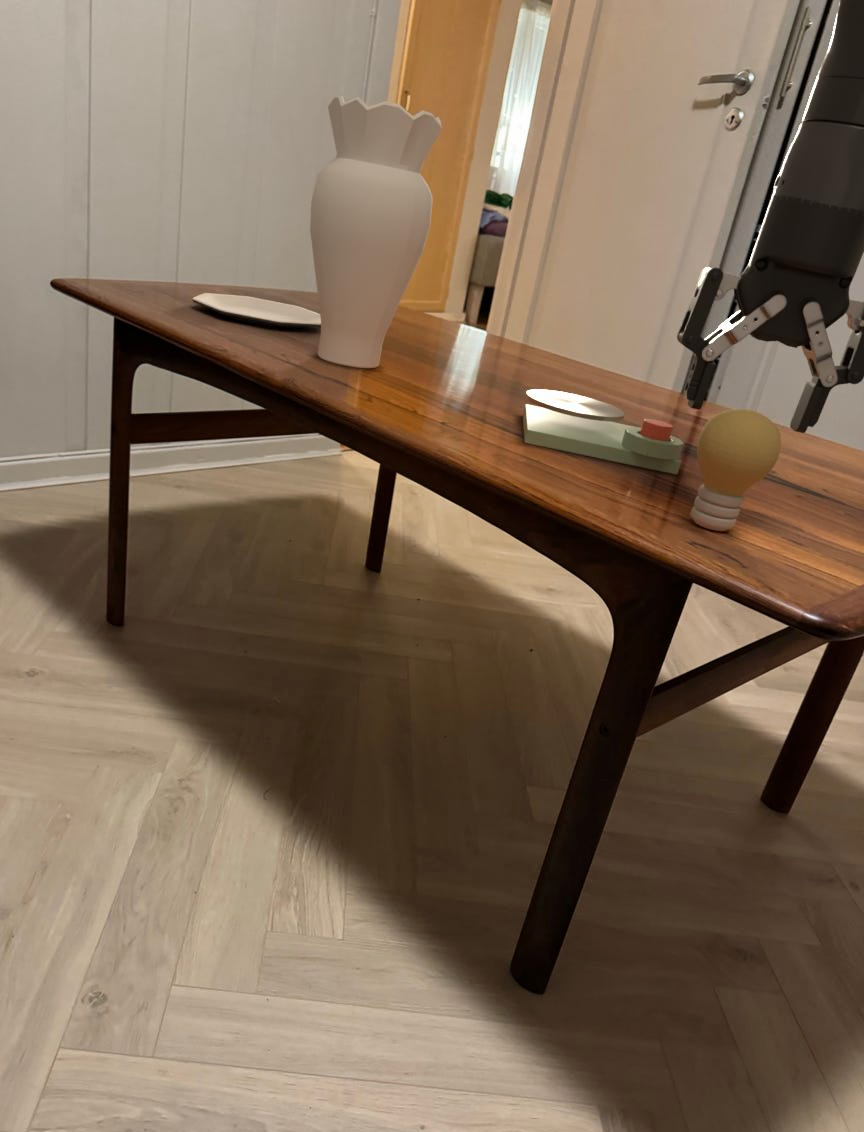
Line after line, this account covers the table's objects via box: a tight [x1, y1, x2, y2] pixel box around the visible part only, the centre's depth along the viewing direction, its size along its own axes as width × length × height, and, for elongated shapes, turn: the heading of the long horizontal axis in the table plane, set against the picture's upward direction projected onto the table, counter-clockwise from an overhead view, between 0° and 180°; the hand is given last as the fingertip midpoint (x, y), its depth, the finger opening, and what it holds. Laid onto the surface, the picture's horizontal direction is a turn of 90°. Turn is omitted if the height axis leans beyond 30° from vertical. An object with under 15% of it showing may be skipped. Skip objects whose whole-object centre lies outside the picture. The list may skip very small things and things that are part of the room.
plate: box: [191, 292, 321, 329], centre depth 137 cm, size 20×20×2 cm
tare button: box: [640, 418, 674, 442], centre depth 93 cm, size 3×3×2 cm
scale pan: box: [525, 389, 626, 422], centre depth 100 cm, size 11×11×1 cm
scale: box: [522, 403, 685, 476], centre depth 98 cm, size 16×15×3 cm
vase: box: [309, 94, 443, 369], centre depth 111 cm, size 15×15×29 cm
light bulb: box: [690, 408, 782, 532], centre depth 75 cm, size 6×6×10 cm
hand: (745, 418), depth 73 cm, fingers open, 8 cm apart
